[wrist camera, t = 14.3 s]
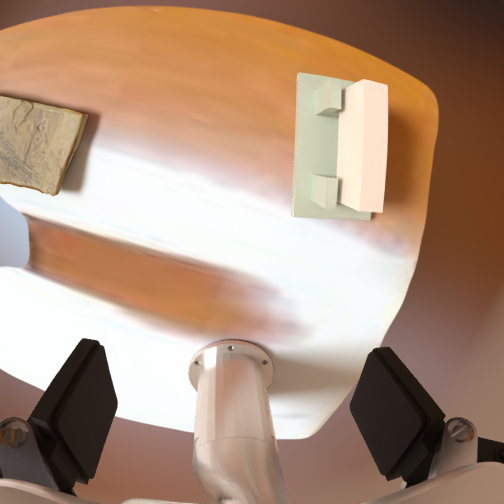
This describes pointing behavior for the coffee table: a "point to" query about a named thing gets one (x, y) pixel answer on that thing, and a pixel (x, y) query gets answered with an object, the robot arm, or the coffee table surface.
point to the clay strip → (362, 146)
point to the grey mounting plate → (318, 149)
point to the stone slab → (37, 143)
